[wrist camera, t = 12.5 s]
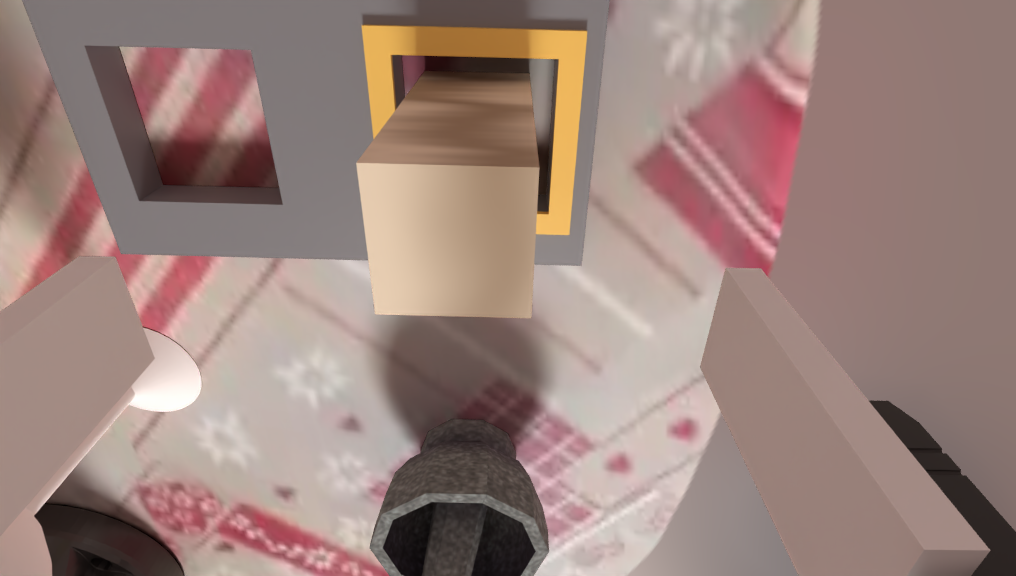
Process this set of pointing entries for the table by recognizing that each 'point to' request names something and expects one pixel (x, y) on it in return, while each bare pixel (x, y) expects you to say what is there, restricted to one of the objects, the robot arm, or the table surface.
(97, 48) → the peg board
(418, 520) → the mortar and pestle
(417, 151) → the wooden peg
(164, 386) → the champagne flute
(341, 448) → the table surface
